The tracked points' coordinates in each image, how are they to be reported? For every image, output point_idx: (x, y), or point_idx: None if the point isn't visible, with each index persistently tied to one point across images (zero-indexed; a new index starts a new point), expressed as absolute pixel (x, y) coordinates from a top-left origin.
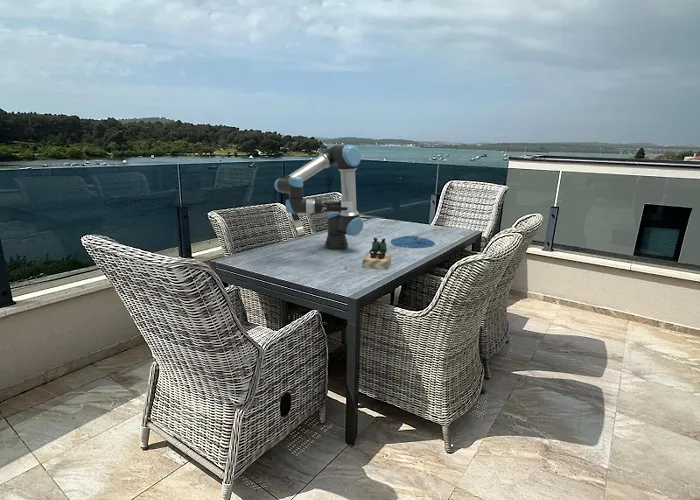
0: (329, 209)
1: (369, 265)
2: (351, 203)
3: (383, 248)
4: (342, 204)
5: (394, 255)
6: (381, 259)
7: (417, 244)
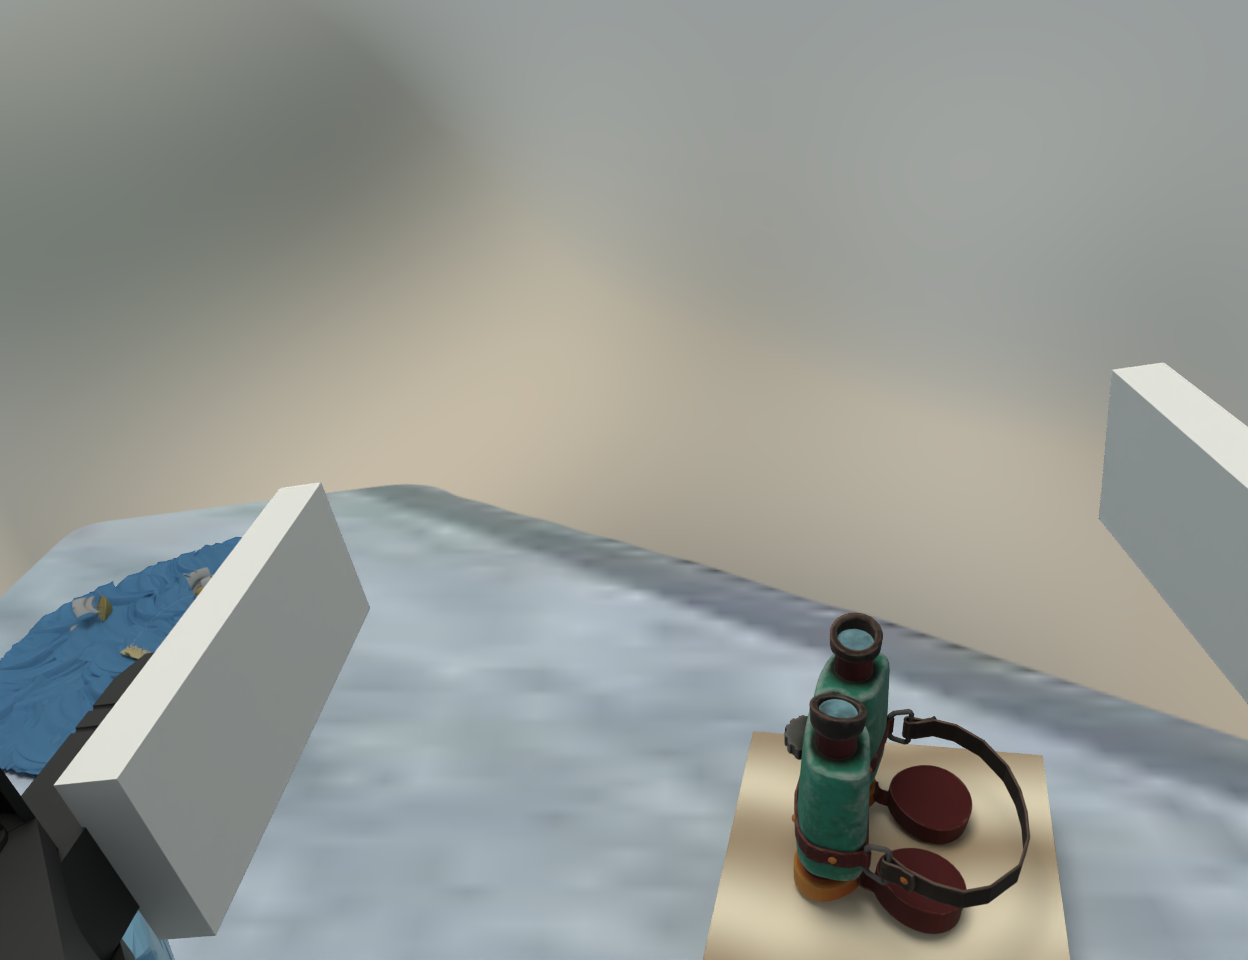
0: None
1: None
2: (319, 529)
3: (885, 717)
4: (195, 796)
5: (529, 758)
6: (976, 815)
7: None
